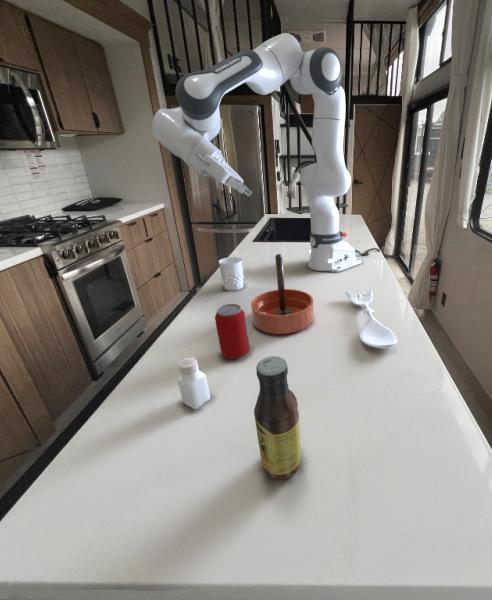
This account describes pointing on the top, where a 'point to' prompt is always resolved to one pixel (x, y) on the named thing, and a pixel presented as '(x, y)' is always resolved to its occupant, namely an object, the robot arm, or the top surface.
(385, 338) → the spoon
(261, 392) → the sauce bottle
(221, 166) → the robot arm
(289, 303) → the bowl
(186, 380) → the pepper shaker
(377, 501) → the top surface
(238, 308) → the beverage can
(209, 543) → the top surface
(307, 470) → the top surface
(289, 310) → the brown rod on stand
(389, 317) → the top surface
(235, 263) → the white cup
